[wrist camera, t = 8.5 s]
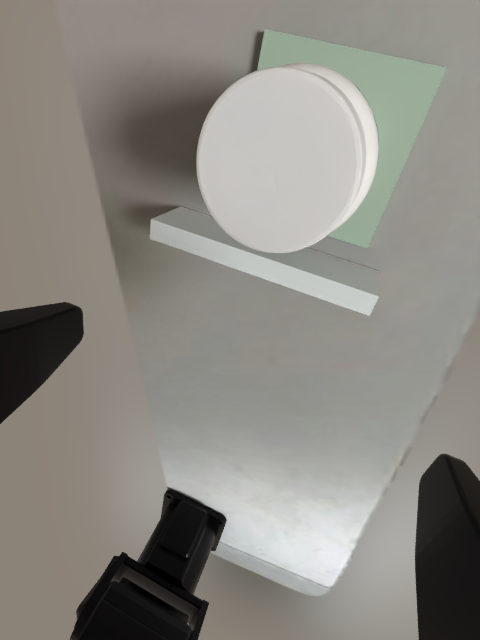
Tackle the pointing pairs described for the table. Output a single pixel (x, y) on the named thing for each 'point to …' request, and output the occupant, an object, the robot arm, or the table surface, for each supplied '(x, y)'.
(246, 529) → the table surface
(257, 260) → the acrylic wall
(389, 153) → the coaster
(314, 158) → the pill bottle
